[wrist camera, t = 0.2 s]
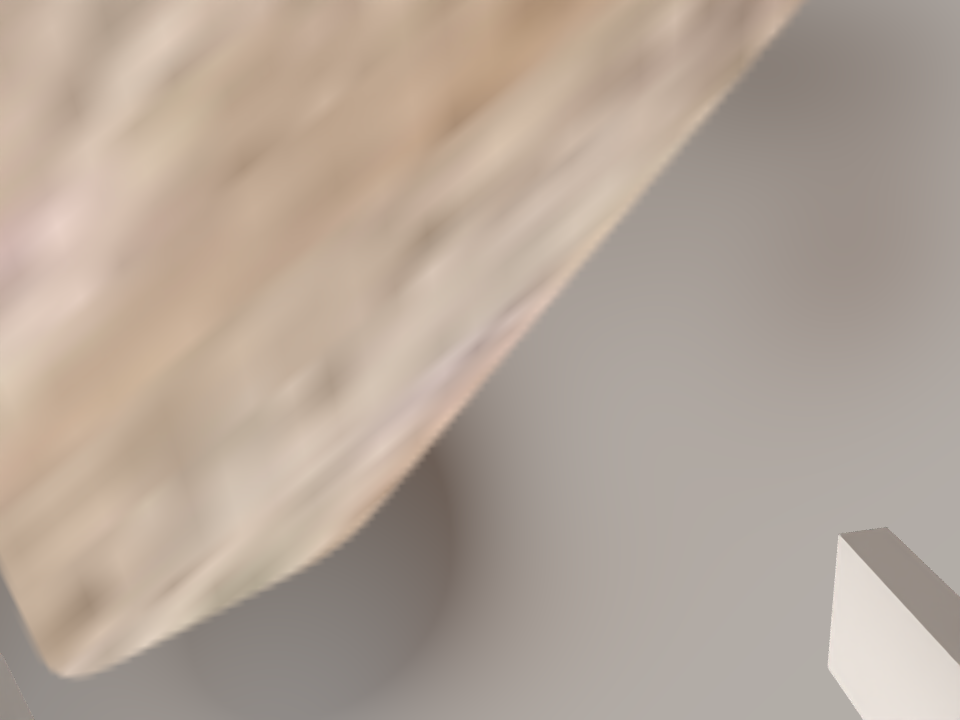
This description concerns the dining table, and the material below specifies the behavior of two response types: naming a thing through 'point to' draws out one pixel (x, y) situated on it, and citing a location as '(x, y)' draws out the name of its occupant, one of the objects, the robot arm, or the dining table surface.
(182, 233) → the dining table surface
